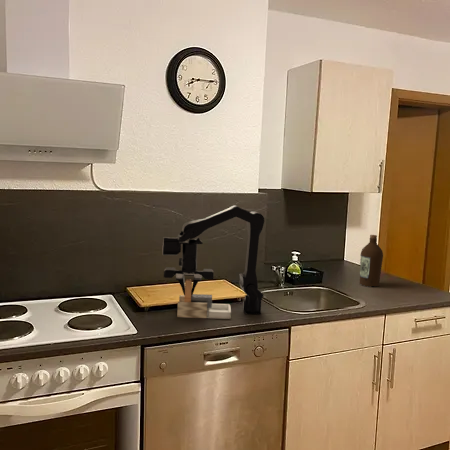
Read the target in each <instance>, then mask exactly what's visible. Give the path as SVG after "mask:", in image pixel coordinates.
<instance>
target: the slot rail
mask: <svg viewBox="0 0 450 450" xmlns="http://www.w3.org/2000/svg"><path fill="white" fill-rule="evenodd" d="M184 300H185V295H184V294H183V295H182V294H181V295H179V298H178V301H177V316H176V317H177V318H192V319H194V318H195V319H208V318H207V303H200V302H184Z"/></svg>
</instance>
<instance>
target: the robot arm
mask: <svg viewBox="0 0 450 450" xmlns="http://www.w3.org/2000/svg"><path fill="white" fill-rule="evenodd" d="M234 218H239V219H241V220H243V221H244V222H246V231H247V243H246V244H247V245H246V255H245V265H244V266H245V267H244V271H243V273H239V281H238V284H239V286H240V289H242V291H243V292H244V294H245V295H244V299H243V302H242V310H243V312H244V314H245V315H262V299H263V297H264V294H263V292H261V290H260V289H259V285H258V284H259V283H258V276H257V264H258V263H257V262H258V252H259V244H260V243H259V242H260V235H261V233H262V232H263V229H264V225H265V217H264V215H262V213H260V212H258V211H255V210H253V211H248V210H246V209H244V208H242V207H239V206H238V205H232V206H229V208H225V209H224V210H221V211H218V212H217V213H213V214H212V215H209V216H207V217H204V218H199V219H194V220H190V221H186V222H184V224H183V225H182V229H181V231H180V232H179V233H178V234H177V236H176V237H169V236H163V237H162V238H163V239H162V246H161V247H162V248H161V249H162V251H161V252H162V256H178V254H180V253H181V257H179V259H178V266H179V267H181V269H180V270H179V269H176V267H173V266H172V267H170V266H169V267H167V266H166V267H165V268H164V270H163V278H167V279H172V278H173V277H175V281H178V283H179V285H180V288H181V290H182V293H183V295H185V276H187V277H189V276H190V277H191V276H192V277H193V279H192V291H191V295H193V294H194V292H195V289H196V287H197V285H198V283H199V282H201V281H202V279H204V280H214V272H215V271H214V269H213V268H203V270H198V245H203V241H202V240H201V239H200V237H199V236H200V235H201V234H204V233H205V232H206V231H207V230H208V229H210V228H214V227H215V226H218V225H220V224H223V223H225V222H227V221H229V220H232V219H234Z"/></svg>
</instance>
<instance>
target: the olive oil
mask: <svg viewBox="0 0 450 450" xmlns="http://www.w3.org/2000/svg"><path fill="white" fill-rule="evenodd" d="M377 237H378V235H376V234H370V235H369V242H368V243H367V244H366V245H365V246H363V247H362V249H361V252H360V260H359V262H360V265H359V266H360V267H359V285H360V284H362V285H361V286H363V285H365V286H364V287H367V286H378V287H379V286H380V281H381V274H382V265H383V262H384V261H383V260H384V253H383V250H382V249H381V247H380V246H379V244H378V243H377V242H378V238H377Z"/></svg>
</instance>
